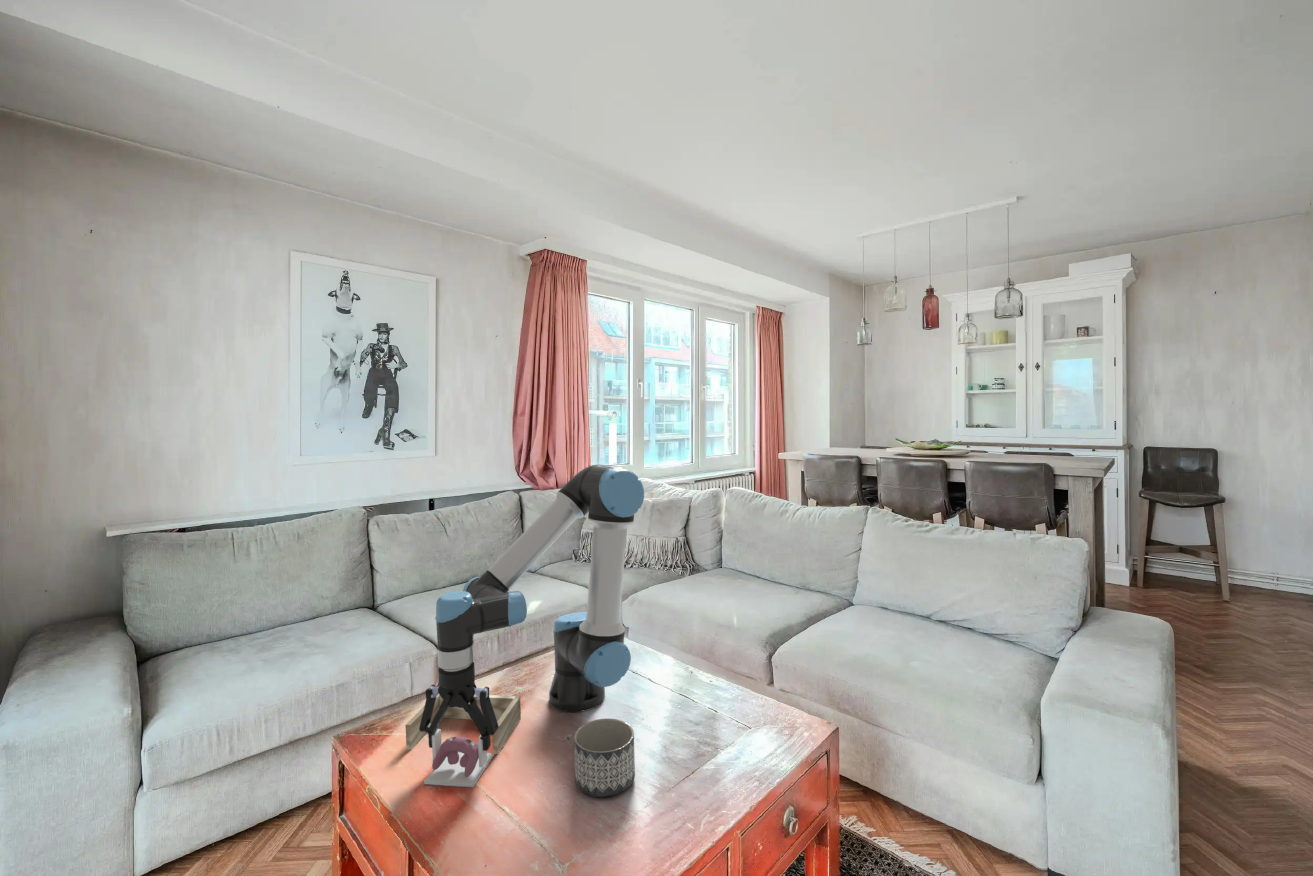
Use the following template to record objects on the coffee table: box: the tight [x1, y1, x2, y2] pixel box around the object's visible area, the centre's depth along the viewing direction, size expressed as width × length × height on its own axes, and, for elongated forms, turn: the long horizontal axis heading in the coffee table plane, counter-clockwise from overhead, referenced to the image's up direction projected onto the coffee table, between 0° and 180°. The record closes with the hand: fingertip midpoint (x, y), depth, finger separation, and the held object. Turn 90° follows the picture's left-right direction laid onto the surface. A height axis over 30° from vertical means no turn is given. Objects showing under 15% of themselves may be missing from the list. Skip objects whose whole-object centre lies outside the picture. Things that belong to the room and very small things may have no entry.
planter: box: [573, 718, 636, 798], centre depth 123 cm, size 13×13×10 cm
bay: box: [405, 693, 522, 755], centre depth 142 cm, size 22×15×6 cm
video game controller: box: [431, 736, 479, 777], centre depth 127 cm, size 10×5×7 cm, turn 71°
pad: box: [423, 752, 495, 788], centre depth 128 cm, size 11×11×1 cm
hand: (460, 762), depth 128 cm, fingers closed on video game controller, 10 cm apart
